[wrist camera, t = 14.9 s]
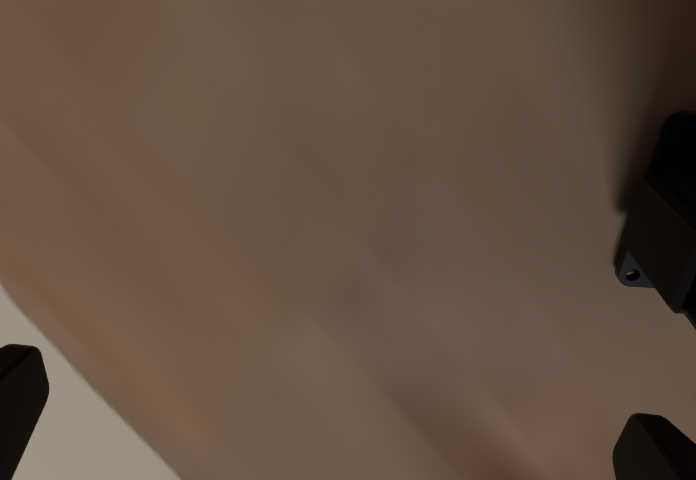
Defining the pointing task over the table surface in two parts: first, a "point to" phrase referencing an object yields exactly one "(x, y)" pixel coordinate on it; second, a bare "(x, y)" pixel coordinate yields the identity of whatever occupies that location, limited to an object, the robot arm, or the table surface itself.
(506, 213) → the table surface
